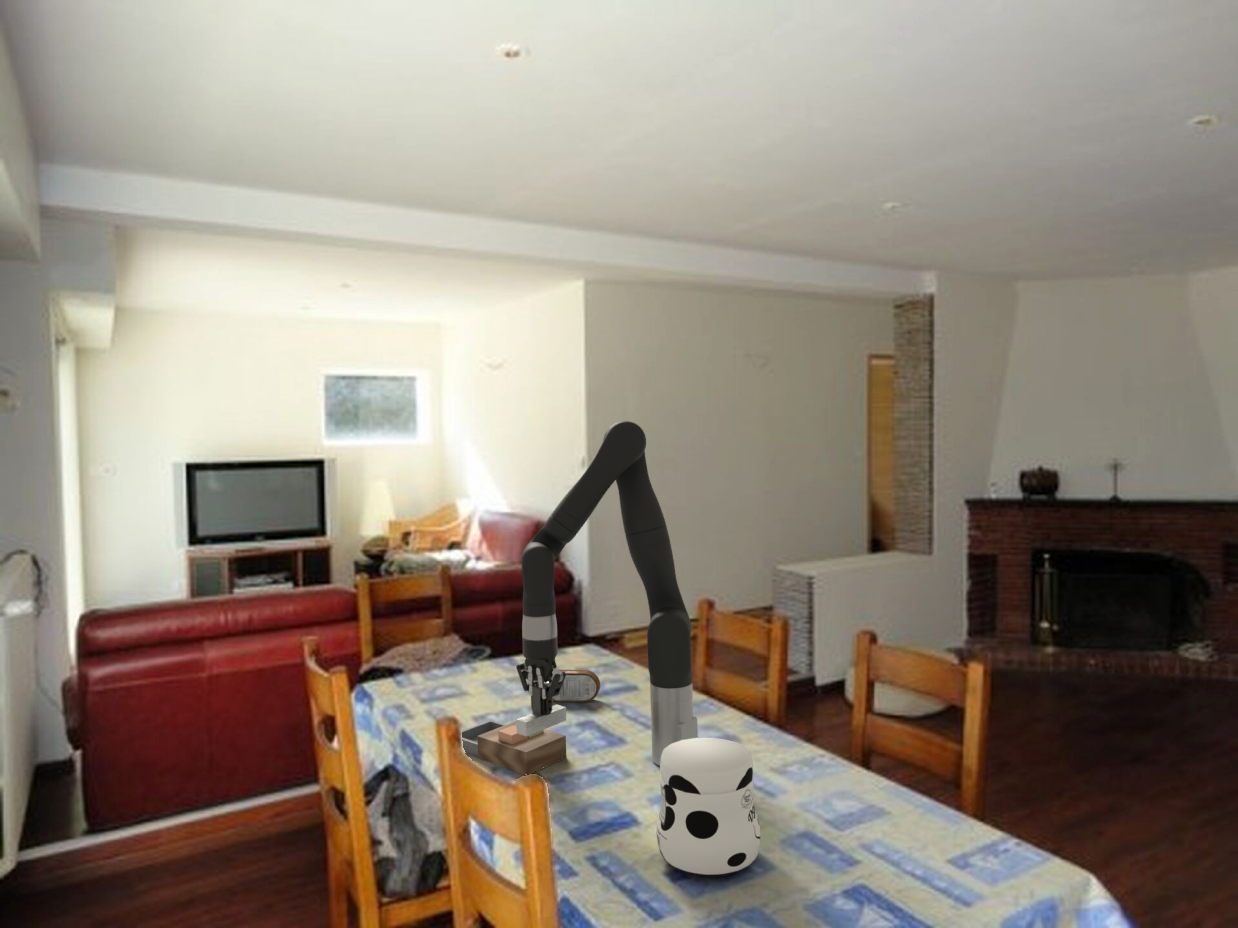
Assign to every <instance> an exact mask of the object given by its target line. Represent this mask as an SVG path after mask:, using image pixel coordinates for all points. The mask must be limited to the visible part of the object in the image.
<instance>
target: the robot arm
mask: <svg viewBox="0 0 1238 928" xmlns="http://www.w3.org/2000/svg"><path fill="white" fill-rule="evenodd" d="M646 448H647V438H646V434H645V432H644V430H643V428H642V427H641V426H640V425H639V424H638V423H635V422H633V421H629V420H622V421H617V422H615V423H614V424H612V425H610V426H609V428H607V430H606V431H605V433H604V436H603V440H602V443H601V445H600V447H599V449H598V451H597V453H596V455H595V457H594V458H593V460H592V462H591V463H590V464H589V466H588V468H587V469H586V470H585V472H584V473H583V474H582V476H581V477H580V478H579V479H578V480H577V481H576V483H575V484H574V485H573V486H572V487H571V488H570V490H569V491H567V493H566V494H565V496H563V498H562V499H561V501H560V502H559V504H557V506H555V508H554V510H553V511H552V513H551V514H550V515H549V517H548V518H547V520H546V522H545V524H544V525H543V526H542V527H541V528H540V529H539V531H537V533H536V534H535V535H534V536H533V537H532V538H531V540H530V541H529V542H528V543H527V544H526V546H525V548H524V549H523V552H522V553H521V574H522V586H523V593H522V622H521V623H522V625H521V629H522V634H521V635H522V656H523V658H525V659H524V662H522V663H519V664H517V665H516V671H517V673H518V677H519V679H520V684H521V686H522V689H523V691H524V692H527V693H528V694H529V695H530V707H531V711H532V712H531V713H533V708H532V686H535V685H538V684H539V688H541V694H542V698H543V699H542V715H544V716H546V715H549V714H551V712H552V706H553V700H552V697H554V696H557V695H559V693H560V690H561V688H562V685H563V682H564V679H565V677H566V673H565V672H560V671H559V670H560V669H558V667H557V663H556V657H557V655H558V653H559V651H558V624H557V623H558V621H557V617H556V596H555V589H554V588H555V587H554V586H555V561H556V559H557V558H558V557H559V555H560V554H561V552H562V551H563V549H565V547H566V545H567V544H569V543H571V541H572V540H574V538H575V537H576V536H577V535H578V534H579V532H580V531H581V529H582V528H583V527H584V525H585V523H587V521H588V520H589V518H590V516H592V514H593V512H594V511H595V509H596V507H597V506H598V505H599V503H600V501H601V500H602V498H603V497H604V496H605V494H606V493H607V492H608V491H609V489H610V488H611V486H612V485H613V484H614V483H615V481H616V485H617V490H618V495H619V505H620V512H621V513H620V514H621V518H622V520H621V521H622V524H623V526H622V527H623V531H624V535H625V540H626V543H627V547H628V551H629V555H630V557H631V559H632V562H633V565H634V567H635V569H636V571H637V573H638V575H639V577H640V579H641V582H642V583H643V587H644V590H645V593H646V598H647V603H648V607H649V608H648V610H649V617H650V622H649V624H648V626H647V632H646V636H647V637H646V641H647V642H646V645H647V664H648V665H647V668H648V673H649V682H650V683H649V685H650V688H649V689H650V690H649V691H650V692H649V693H650V721H651V722H650V726H651V727H650V728H651V729H650V730H651V753H652V754H651V757H652V762H653V763H654V764H655V765H657V766H659V767H660V762H661V755H662V752H663V750H664V748H666V747H667V746H669V745H670V744H672V743H675V742H678V741H681V740H686V739H692V738H699V736H698V717H697V716H694V706H693V705H694V704H693V701H694V700H693V699H694V698H693V693H694V692H693V670H692V657H691V655H692V654H691V635H692V622H691V621H692V620H691V618H690V616H689V613H688V611H687V608H686V605H685V603H684V600H683V597H682V594H681V591H680V588H679V584H678V580H677V573H676V567H675V560H674V555H673V550H672V543H671V540H670V535H669V531H668V526H667V523H666V520H665V516H664V513H663V511H662V507H661V505H660V503H659V500H658V498H657V495H656V493H655V490H654V488H653V485H652V482H651V479H650V476H649V471H648V466H647V460H646V459H647V458H646V451H645V450H646ZM547 681H548V682H547ZM545 682H546V683H545ZM547 687H548V692H547V691H546V688H547Z"/></svg>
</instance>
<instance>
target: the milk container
mask: <svg viewBox="0 0 1238 928" xmlns="http://www.w3.org/2000/svg"><path fill="white" fill-rule="evenodd" d="M752 756H753V755H752V753H751V751H750V750H749V749H748V747H746V746H745V745H743V744H742V743H741V744H740V743H739V742H736V741H733V740H728V739H725V738H717V737H698V738H692V739H686V740H681V741H678V742H675V743H672V744H670V745H669V746H667V747H666V748H664V750H663V752H662V755H661V762H660V766H659V770H660V771H659V774H660V781H659V782H660V797H661V798H660V799H661V801H660V808H659V814H658V817H657V823H656V840H657V845H658V848H659V849H658V850H659V853H660V854H661V856H662V859H663V860H664V861H665V862H666V863H668V865H670V866H671V867H673V868H674V869H676V870H678V871H680V872H683V873H685V874H687V875H691V876H697V877H701V878H713V877H714V878H721V877H725V876H729V875H734V874H737V873H739V872H741V871H743V870H745V869H747V868H748V867H750V866H751V865H753V863H754V861H755V860H756V858H757V857H758V854H759V850H760V846H761V826H760V821H759V818H758V815H757V812H756V807H755V798H754V797H755V796H754V795H755V794H754V793H755V791H754V790H755V789H754V788H755V787H754V786H755V781H754V780H755V779H754V762H753V757H752Z"/></svg>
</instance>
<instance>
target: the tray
mask: <svg viewBox="0 0 1238 928" xmlns="http://www.w3.org/2000/svg"><path fill="white" fill-rule="evenodd" d="M505 725H507V723H506V724H505V723H503V722H499V721H495V720H492V719H490V720H487V721H484V722H482V723H479V724H475V725H473V726H471V727H468V728H465V729H463V730H461V731H462V741H463V748H464V750H465V752H466V753H465V754H466V755H469V756H472V757H474V758H477V759H479V758H478V742H477V736H479V735H481V734H484V733H486V732H489V731H492V730H494V729H497V728H499V727H502V726H505Z"/></svg>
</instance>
